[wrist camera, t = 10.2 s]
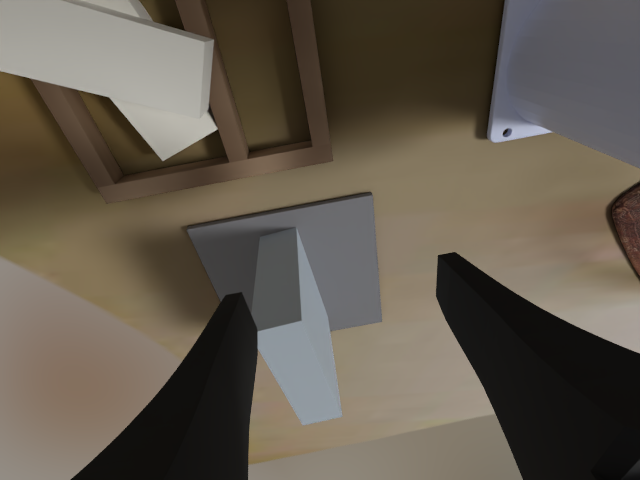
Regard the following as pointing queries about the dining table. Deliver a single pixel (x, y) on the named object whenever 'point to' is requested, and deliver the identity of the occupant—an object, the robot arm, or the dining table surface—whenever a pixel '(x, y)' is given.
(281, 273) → the pale grey rectangular block
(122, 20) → the upper offcut
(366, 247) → the grey mat
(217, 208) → the dining table surface
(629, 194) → the wooden tablet
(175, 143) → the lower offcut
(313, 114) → the offcut rack
